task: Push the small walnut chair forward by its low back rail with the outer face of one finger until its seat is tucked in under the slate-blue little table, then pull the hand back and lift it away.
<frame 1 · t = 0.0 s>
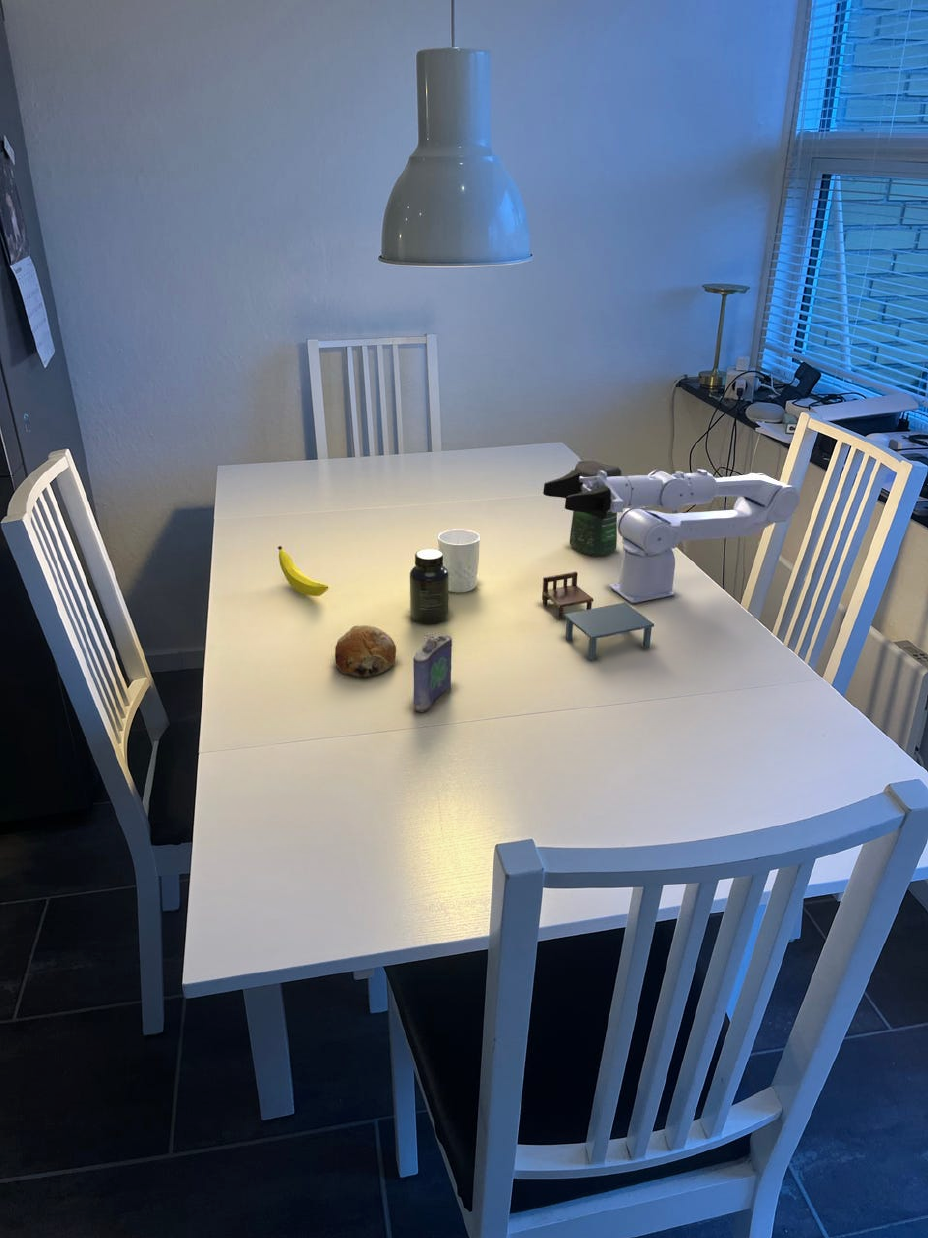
hand: (555, 495, 163), 22 cm above the table, tool horizontal, fingers open, 7 cm apart
bread roll: (365, 664, 155), on the table
coffee jar: (592, 549, 199), on the table
supplement bottle: (429, 617, 171), on the table
flask: (432, 699, 146), on the table
table: (607, 642, 162), on the table
white cup: (458, 586, 182), on the table
banana: (304, 594, 179), on the table
chair: (566, 609, 174), on the table
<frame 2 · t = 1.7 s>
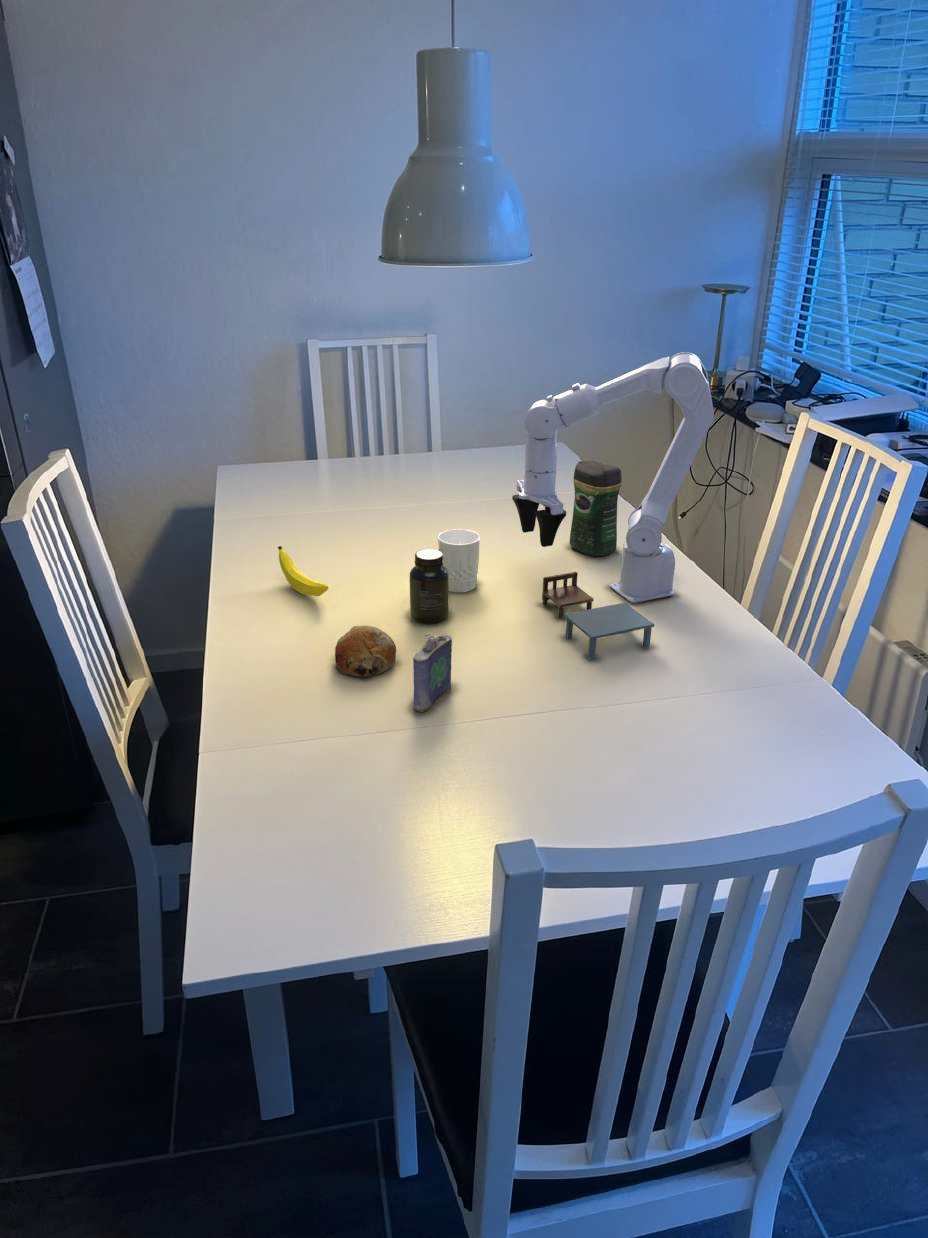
hand: (537, 538, 179), 9 cm above the table, tool pointing down, fingers open, 7 cm apart
nothing on the table moved.
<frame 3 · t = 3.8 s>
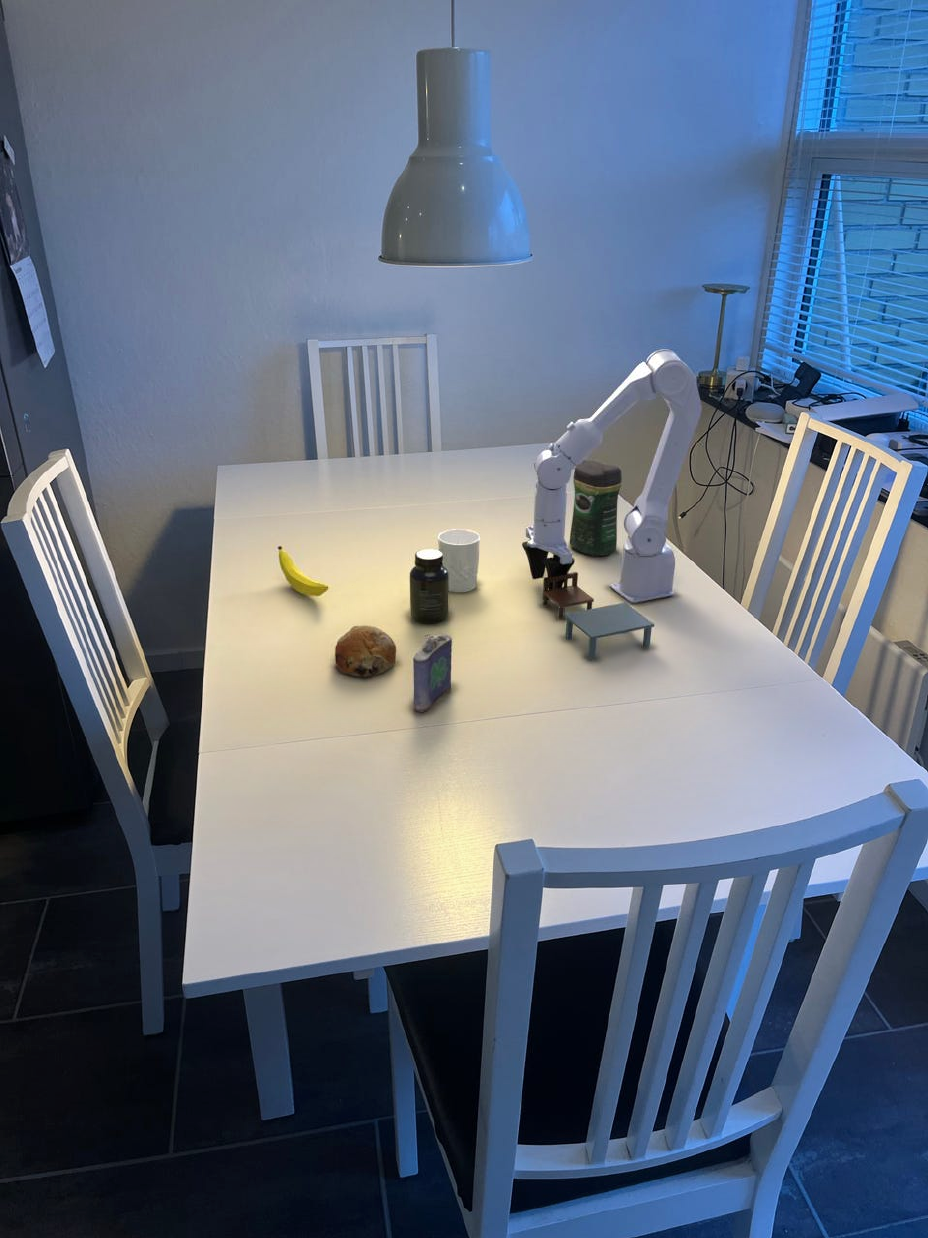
hand: (546, 585, 179), 1 cm above the table, tool pointing down, fingers open, 6 cm apart
chair: (566, 609, 173), on the table, touching gripper
everything else where it was.
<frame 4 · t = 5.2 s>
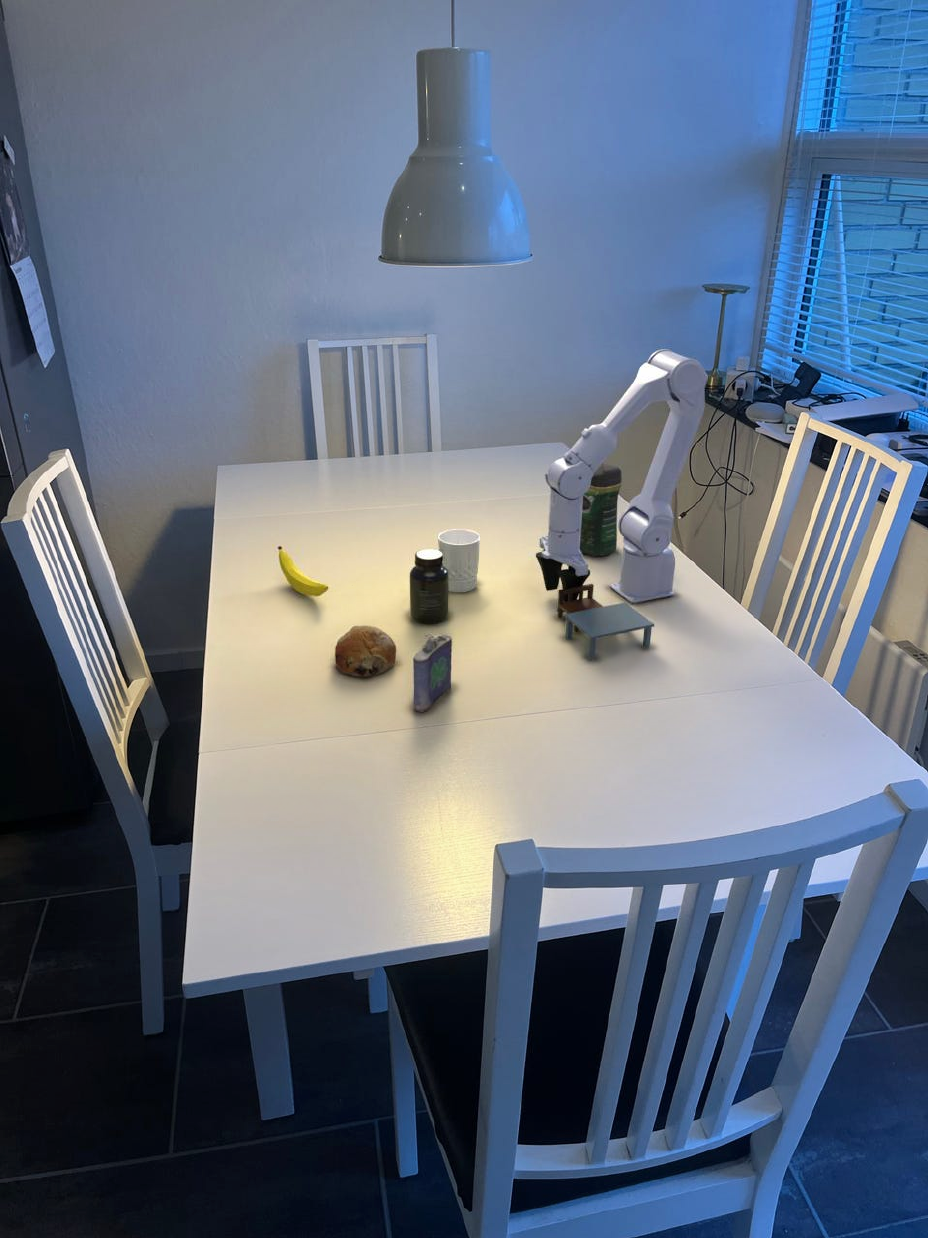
hand: (560, 596, 175), 1 cm above the table, tool pointing down, fingers open, 6 cm apart
chair: (582, 622, 169), on the table, touching gripper
everything else where it was.
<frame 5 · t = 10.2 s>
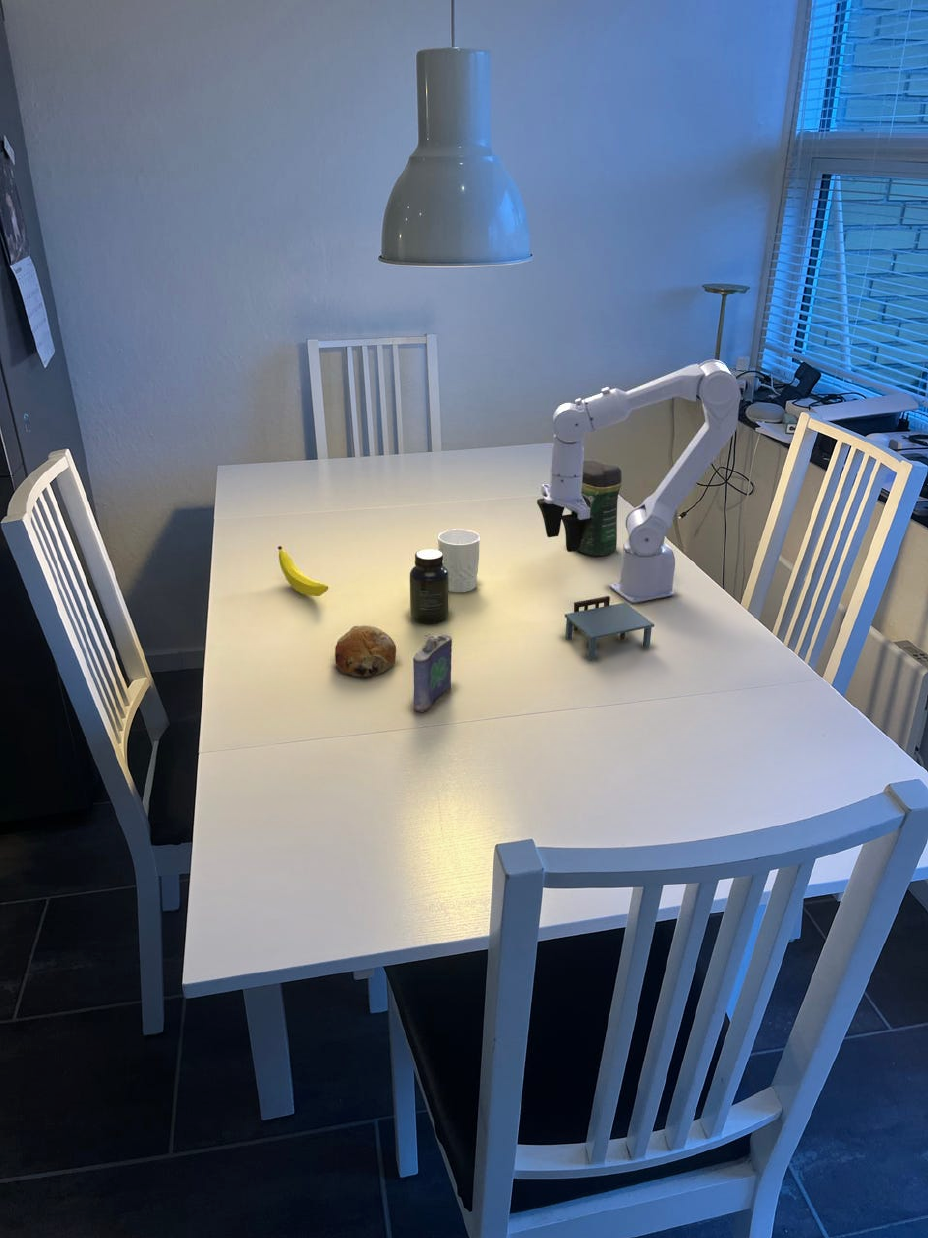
hand: (562, 543, 177), 9 cm above the table, tool pointing down, fingers open, 7 cm apart
chair: (598, 635, 164), on the table
everything else where it was.
at the end: chair 0.3 cm from the target spot, on the table; chair tilted 0°; chair moved 11.3 cm from its start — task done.
